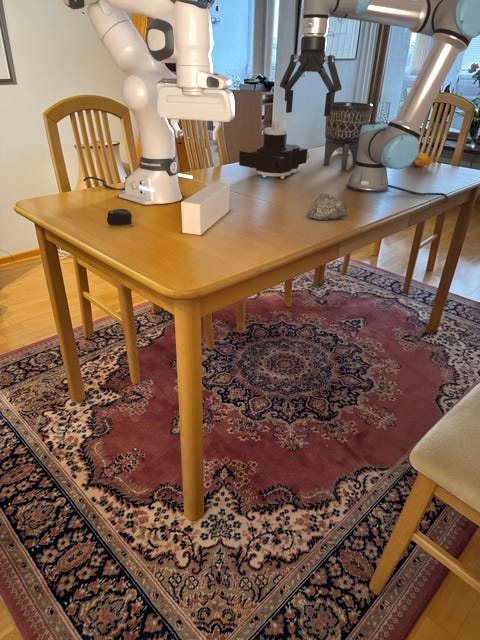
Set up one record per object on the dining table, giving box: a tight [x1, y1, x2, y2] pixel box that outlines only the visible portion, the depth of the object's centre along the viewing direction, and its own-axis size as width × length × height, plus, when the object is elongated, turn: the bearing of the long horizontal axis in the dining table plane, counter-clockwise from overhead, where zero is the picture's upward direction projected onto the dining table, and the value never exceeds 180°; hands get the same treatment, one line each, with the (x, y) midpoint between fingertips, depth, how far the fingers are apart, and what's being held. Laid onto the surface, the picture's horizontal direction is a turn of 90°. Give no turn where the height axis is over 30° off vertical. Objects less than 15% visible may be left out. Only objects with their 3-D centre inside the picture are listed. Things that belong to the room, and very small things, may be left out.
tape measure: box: [106, 208, 133, 227], centre depth 132 cm, size 7×7×4 cm
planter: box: [323, 101, 374, 172], centre depth 204 cm, size 20×20×26 cm
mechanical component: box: [238, 120, 311, 179], centre depth 191 cm, size 22×21×30 cm
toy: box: [411, 151, 434, 168], centre depth 216 cm, size 11×6×15 cm
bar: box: [180, 181, 231, 236], centre depth 136 cm, size 25×6×9 cm, turn 162°
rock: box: [307, 192, 348, 221], centre depth 142 cm, size 13×9×6 cm, turn 131°
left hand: (196, 138), depth 119 cm, fingers open, 8 cm apart
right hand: (307, 114), depth 145 cm, fingers open, 13 cm apart
